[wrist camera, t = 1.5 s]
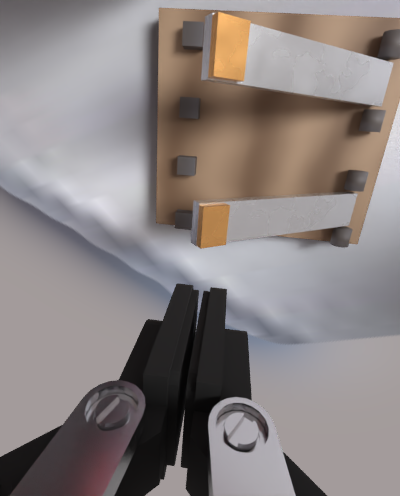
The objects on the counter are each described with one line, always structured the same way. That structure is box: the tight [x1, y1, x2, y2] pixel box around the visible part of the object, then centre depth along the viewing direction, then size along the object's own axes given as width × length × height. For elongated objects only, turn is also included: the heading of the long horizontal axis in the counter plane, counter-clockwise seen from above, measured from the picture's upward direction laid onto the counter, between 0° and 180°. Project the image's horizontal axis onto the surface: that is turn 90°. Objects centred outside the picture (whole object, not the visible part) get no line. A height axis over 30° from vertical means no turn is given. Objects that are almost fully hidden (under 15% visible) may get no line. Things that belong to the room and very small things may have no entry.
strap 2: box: [191, 191, 358, 248], centre depth 23 cm, size 16×3×1 cm
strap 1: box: [201, 12, 393, 107], centre depth 20 cm, size 16×3×1 cm
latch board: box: [156, 8, 400, 247], centre depth 26 cm, size 20×18×4 cm
